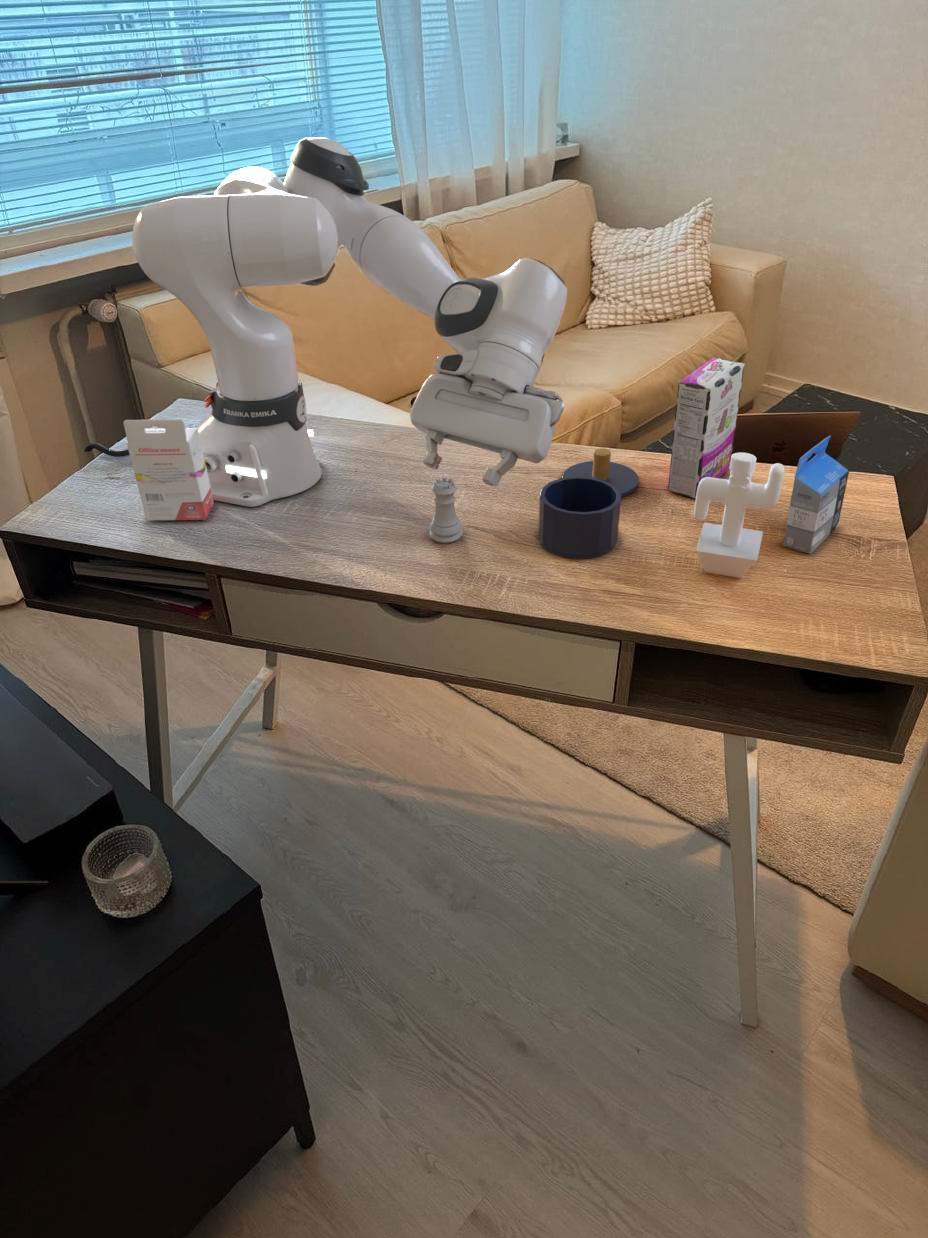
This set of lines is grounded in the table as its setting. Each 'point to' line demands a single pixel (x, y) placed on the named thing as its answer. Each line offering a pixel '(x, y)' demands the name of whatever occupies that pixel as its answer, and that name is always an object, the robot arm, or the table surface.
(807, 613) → the table surface
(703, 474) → the candy bar box
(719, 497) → the figurine
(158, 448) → the ink cartridge box
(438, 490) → the rook chess piece
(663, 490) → the table surface
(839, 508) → the label tape box
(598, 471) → the tin lid
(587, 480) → the tin
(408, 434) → the table surface
